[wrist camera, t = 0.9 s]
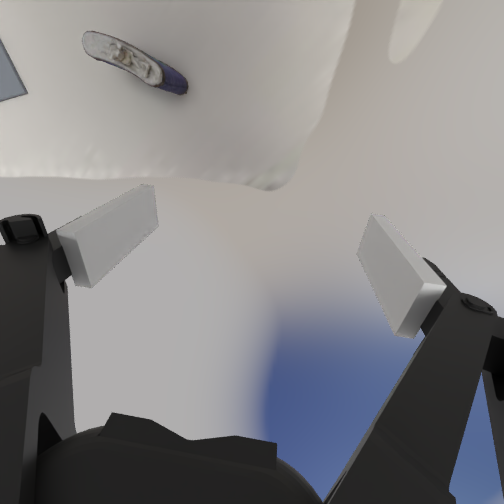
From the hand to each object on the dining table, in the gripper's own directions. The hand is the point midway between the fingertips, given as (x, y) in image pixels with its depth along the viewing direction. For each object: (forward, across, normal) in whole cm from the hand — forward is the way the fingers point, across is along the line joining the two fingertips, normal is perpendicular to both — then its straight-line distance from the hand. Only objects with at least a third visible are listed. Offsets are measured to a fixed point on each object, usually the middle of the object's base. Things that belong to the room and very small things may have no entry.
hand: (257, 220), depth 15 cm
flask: (+26, -18, +8) cm, 33 cm away
